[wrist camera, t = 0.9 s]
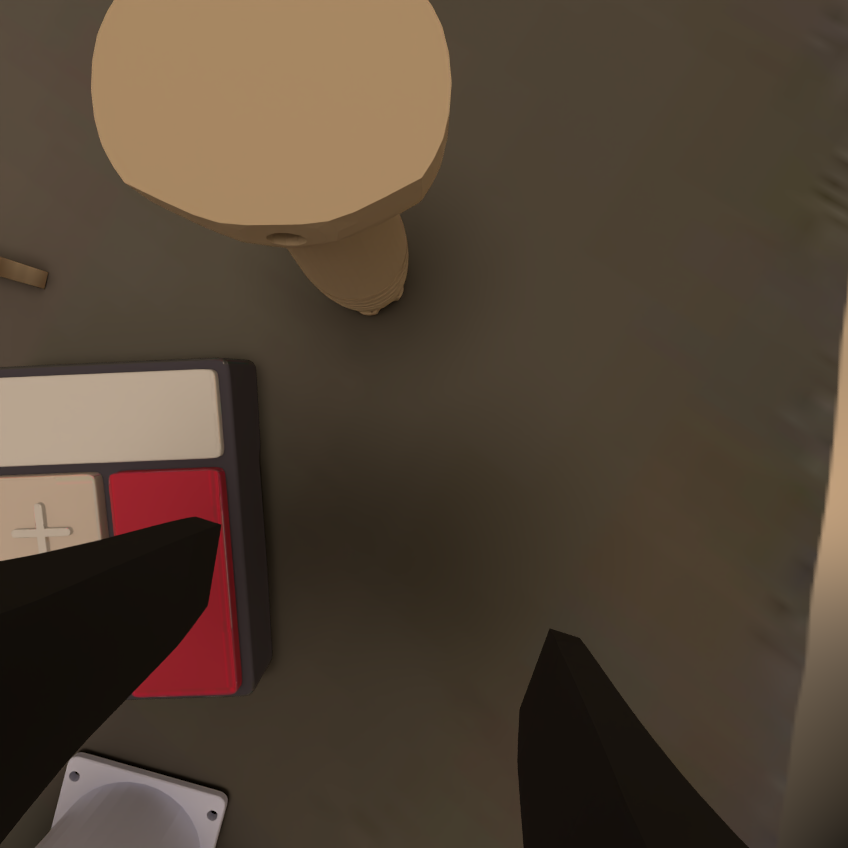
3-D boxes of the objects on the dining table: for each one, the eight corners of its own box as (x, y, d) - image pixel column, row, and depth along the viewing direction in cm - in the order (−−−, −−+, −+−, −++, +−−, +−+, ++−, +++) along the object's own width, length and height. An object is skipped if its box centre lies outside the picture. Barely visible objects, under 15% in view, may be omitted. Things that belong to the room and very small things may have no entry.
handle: (302, 231, 24) (85, -51, 9) (438, 229, 24) (450, -61, 9) (304, 334, 24) (97, 227, 9) (439, 332, 24) (451, 222, 9)
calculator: (-4, 716, 22) (-50, 367, 20) (67, 660, 26) (33, 369, 25) (249, 709, 22) (220, 356, 20) (279, 653, 26) (257, 359, 24)
